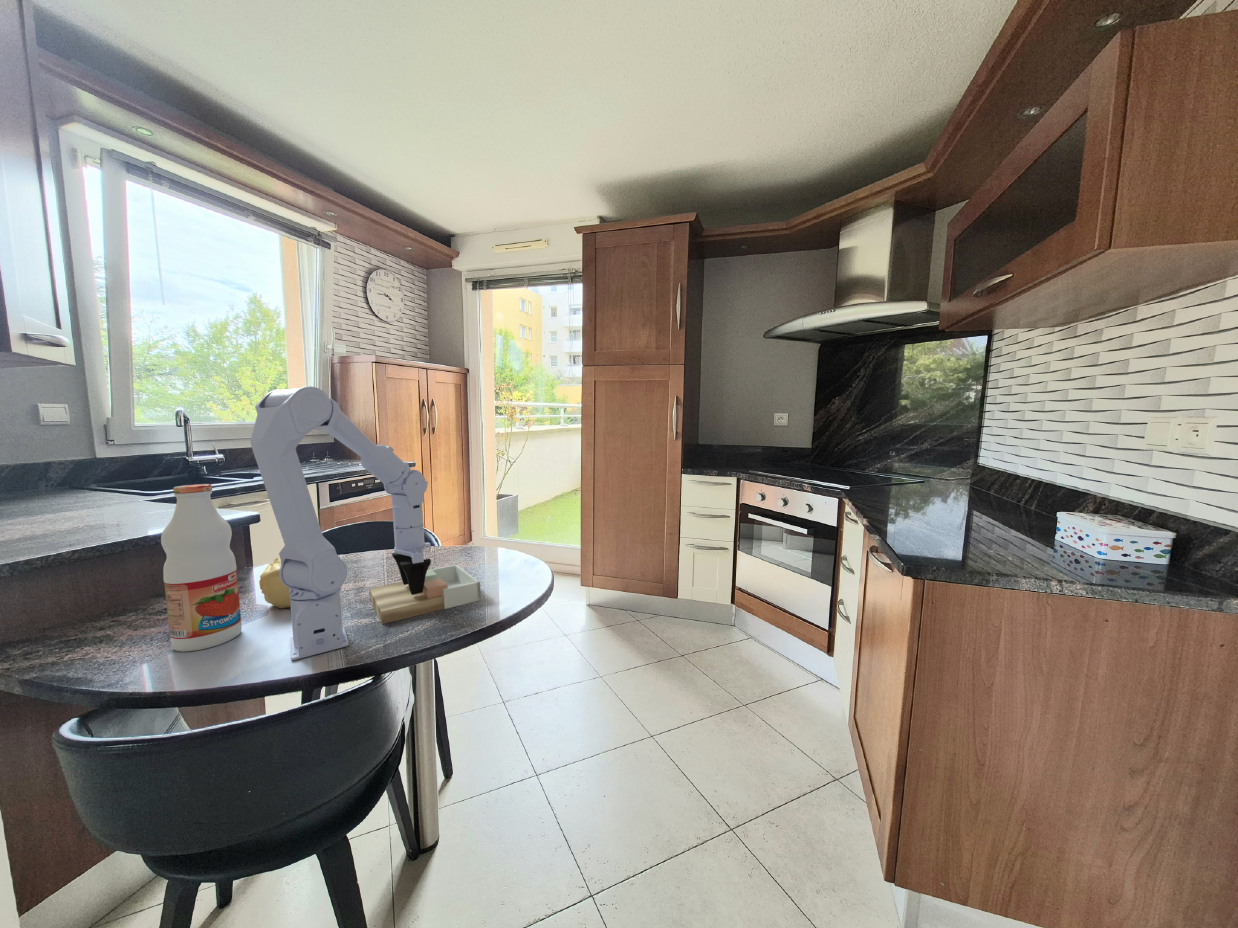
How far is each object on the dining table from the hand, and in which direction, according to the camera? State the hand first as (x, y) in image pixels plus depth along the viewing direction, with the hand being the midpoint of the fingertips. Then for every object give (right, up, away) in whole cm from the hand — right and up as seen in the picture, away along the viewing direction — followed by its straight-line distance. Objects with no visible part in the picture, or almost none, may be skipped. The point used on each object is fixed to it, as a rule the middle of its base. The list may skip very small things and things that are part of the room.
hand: (412, 588), depth 96 cm
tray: (+7, -3, +5) cm, 9 cm away
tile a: (+5, -1, -1) cm, 6 cm away
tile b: (0, 0, +5) cm, 5 cm away
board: (-1, -3, -1) cm, 3 cm away
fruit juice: (-30, -5, -15) cm, 34 cm away
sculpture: (-26, -4, +2) cm, 27 cm away
